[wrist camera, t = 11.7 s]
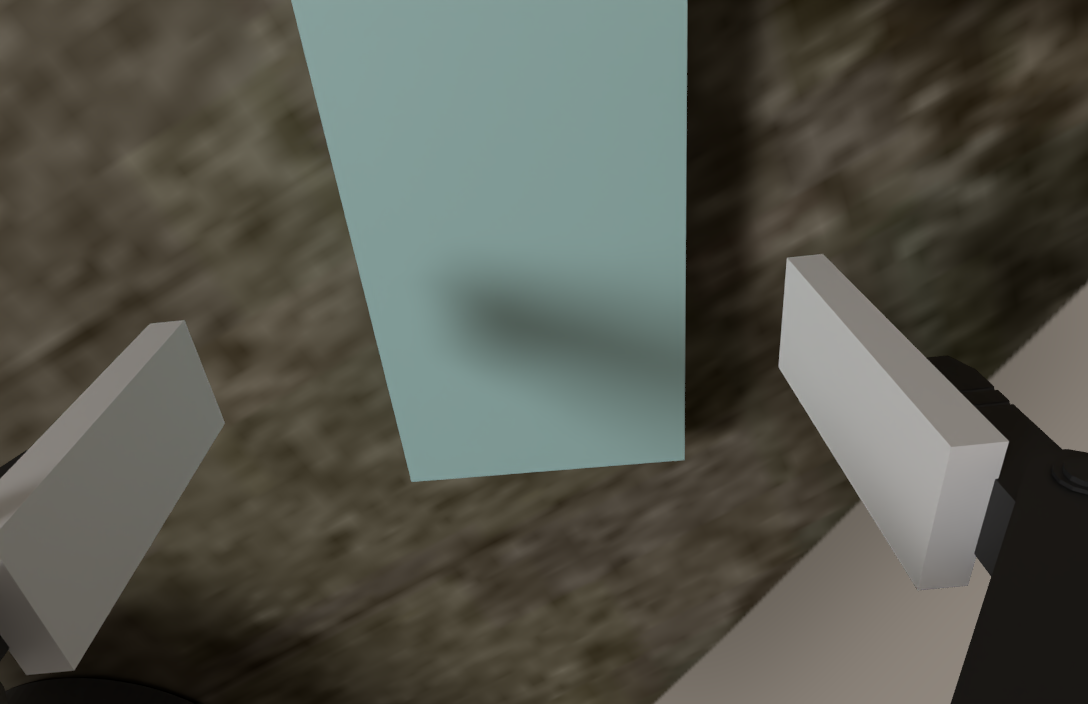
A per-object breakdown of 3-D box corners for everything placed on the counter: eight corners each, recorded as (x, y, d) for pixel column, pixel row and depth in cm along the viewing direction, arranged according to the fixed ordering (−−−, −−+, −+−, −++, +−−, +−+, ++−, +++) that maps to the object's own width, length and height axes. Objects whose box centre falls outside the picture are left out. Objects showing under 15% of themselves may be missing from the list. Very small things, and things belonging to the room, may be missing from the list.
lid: (423, 430, 28) (411, 481, 25) (301, -104, 19) (263, -109, 16) (670, 409, 27) (684, 459, 25) (666, -146, 18) (688, -159, 16)
